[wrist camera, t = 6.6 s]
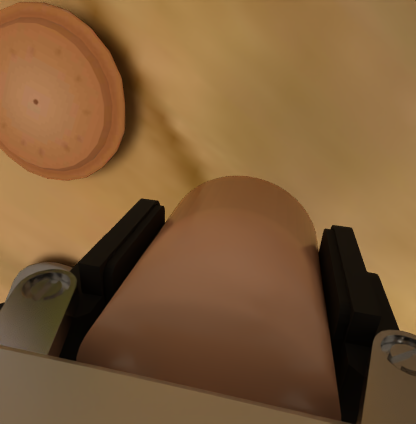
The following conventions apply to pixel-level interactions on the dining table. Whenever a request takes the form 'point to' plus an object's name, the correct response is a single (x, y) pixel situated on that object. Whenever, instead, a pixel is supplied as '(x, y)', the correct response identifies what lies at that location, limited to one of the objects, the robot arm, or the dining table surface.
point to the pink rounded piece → (227, 302)
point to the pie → (57, 93)
